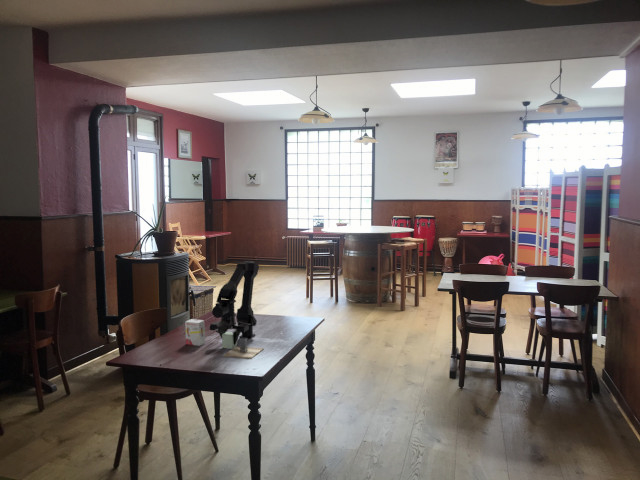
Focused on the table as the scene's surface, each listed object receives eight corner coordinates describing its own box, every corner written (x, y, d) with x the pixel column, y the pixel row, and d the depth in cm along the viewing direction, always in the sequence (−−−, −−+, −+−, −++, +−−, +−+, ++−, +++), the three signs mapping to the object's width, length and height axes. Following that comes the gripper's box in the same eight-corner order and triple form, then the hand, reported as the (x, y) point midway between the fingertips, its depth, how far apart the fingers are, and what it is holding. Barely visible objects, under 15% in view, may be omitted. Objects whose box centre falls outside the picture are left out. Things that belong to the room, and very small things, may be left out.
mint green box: (227, 344, 256) (227, 331, 256) (236, 345, 255) (236, 332, 254) (222, 347, 251) (221, 334, 251) (232, 348, 250) (231, 335, 249)
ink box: (185, 344, 258) (184, 321, 257) (191, 341, 263) (190, 318, 261) (199, 346, 255) (198, 322, 254) (205, 343, 259) (204, 320, 258)
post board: (237, 347, 252) (237, 346, 252) (263, 349, 248) (263, 348, 248) (223, 356, 238) (223, 355, 238) (251, 358, 234) (251, 357, 234)
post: (242, 350, 245) (242, 337, 244) (247, 351, 244) (247, 337, 243) (240, 352, 242) (239, 338, 241) (245, 352, 241) (244, 339, 241)
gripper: (203, 315, 246) (204, 347, 248) (238, 318, 241) (239, 350, 242) (214, 310, 257) (215, 341, 259) (248, 312, 251) (249, 343, 253)
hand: (229, 344), depth 253 cm, fingers closed on mint green box, 5 cm apart
